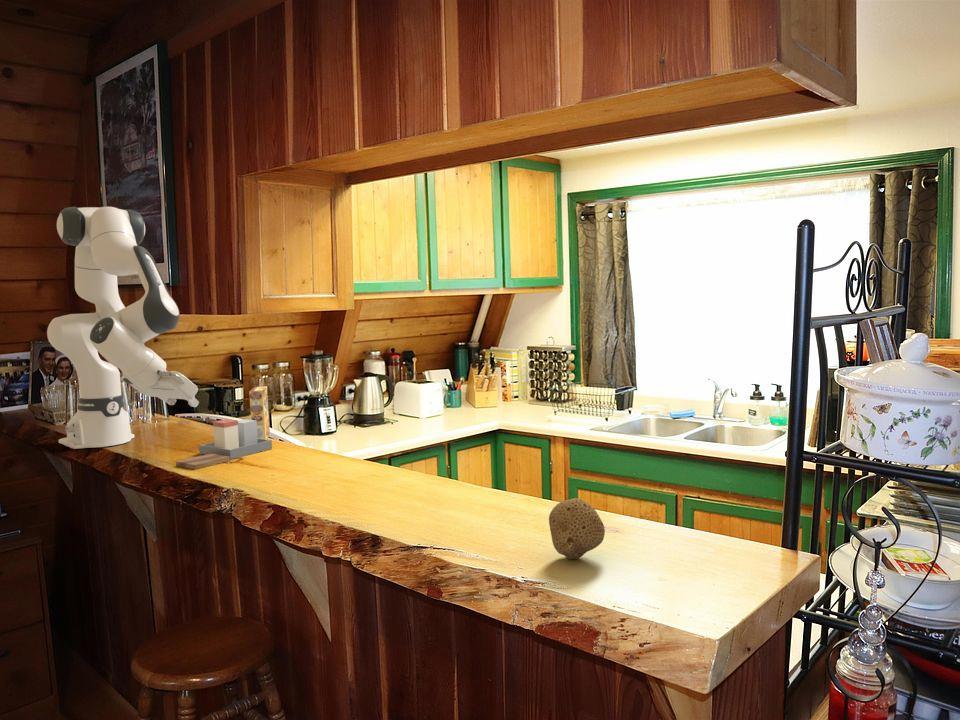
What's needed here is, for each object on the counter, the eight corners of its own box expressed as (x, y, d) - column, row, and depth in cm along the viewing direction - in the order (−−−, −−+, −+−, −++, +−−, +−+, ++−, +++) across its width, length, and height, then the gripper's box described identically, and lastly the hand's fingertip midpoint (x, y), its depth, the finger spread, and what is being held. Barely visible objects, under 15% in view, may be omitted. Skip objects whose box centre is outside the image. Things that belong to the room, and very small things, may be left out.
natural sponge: (606, 550, 130) (605, 492, 129) (603, 570, 121) (602, 508, 120) (552, 548, 132) (551, 491, 131) (545, 567, 123) (545, 506, 122)
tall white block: (234, 449, 217) (233, 421, 216) (247, 446, 220) (246, 419, 220) (245, 451, 214) (243, 423, 213) (258, 448, 218) (256, 420, 217)
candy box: (266, 441, 228) (263, 390, 226) (251, 442, 227) (248, 390, 225) (270, 435, 236) (267, 386, 235) (256, 436, 236) (253, 386, 234)
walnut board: (176, 466, 199) (175, 461, 199) (210, 457, 208) (210, 453, 207) (195, 469, 194) (195, 464, 194) (229, 460, 203) (229, 456, 203)
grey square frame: (199, 454, 212) (199, 445, 212) (241, 444, 224) (240, 435, 224) (230, 459, 205) (230, 450, 205) (272, 448, 217) (271, 440, 216)
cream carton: (215, 454, 211) (213, 421, 210) (228, 451, 215) (226, 419, 214) (225, 456, 209) (223, 423, 208) (239, 453, 213) (237, 420, 212)
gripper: (180, 361, 187) (216, 396, 196) (131, 359, 198) (168, 392, 207) (165, 382, 184) (203, 416, 193) (116, 379, 195) (154, 411, 204)
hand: (184, 403), depth 200 cm, fingers open, 8 cm apart
